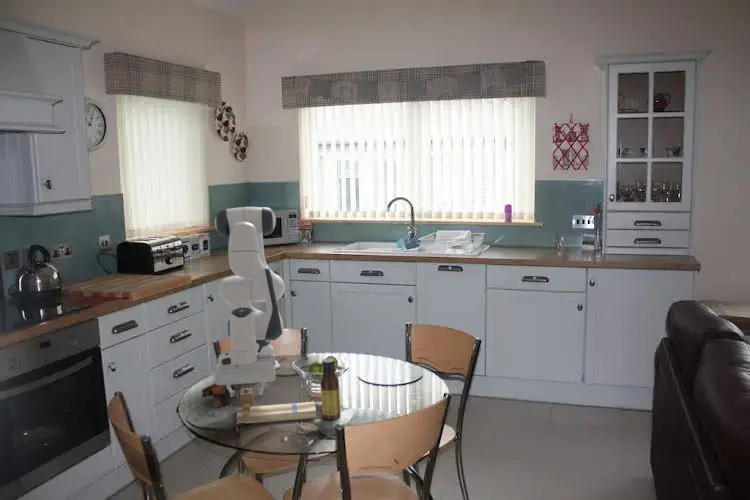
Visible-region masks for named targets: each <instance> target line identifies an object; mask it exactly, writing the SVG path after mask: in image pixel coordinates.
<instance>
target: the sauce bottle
mask: <svg viewBox="0 0 750 500" xmlns="http://www.w3.org/2000/svg"><path fill="white" fill-rule="evenodd" d="M321 363H322V364H321V365H322V368H323V371H322V372H323V373H322V375H321V376H322V377H321V381H320V398H321V399H320V400H321V402H320V403H321V413H322V417H323V418H324V419H328V420H335V419H339V417H341V411H342V410H341V393H340V389H341V388H340V384H339V382H340V381H339V380H340V379H339V377H338V375H337V374H336V371H335V370H336V369H335V359H334V358H331V357H330V358H324V359H322V361H321Z"/></svg>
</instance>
